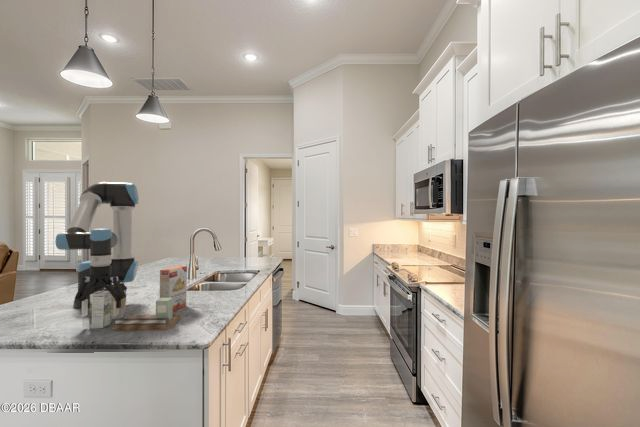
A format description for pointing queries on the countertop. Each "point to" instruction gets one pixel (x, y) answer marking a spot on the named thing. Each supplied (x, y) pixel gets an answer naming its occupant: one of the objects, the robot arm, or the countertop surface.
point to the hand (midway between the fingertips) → (100, 315)
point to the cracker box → (174, 285)
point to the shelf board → (144, 322)
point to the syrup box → (100, 309)
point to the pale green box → (164, 308)
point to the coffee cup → (123, 303)
